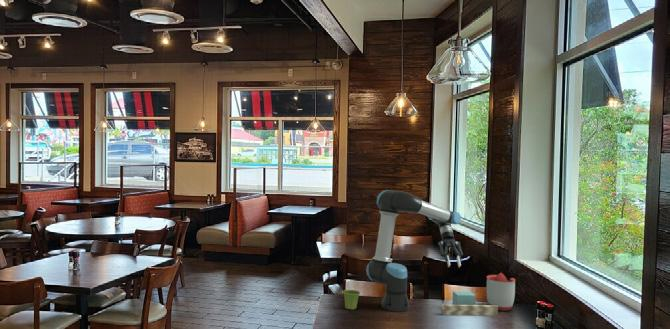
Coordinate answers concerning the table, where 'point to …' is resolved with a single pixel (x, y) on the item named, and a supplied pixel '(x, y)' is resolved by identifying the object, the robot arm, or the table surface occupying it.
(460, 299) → the teal block
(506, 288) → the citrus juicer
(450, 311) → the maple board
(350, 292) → the plant pot
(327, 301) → the table surface
